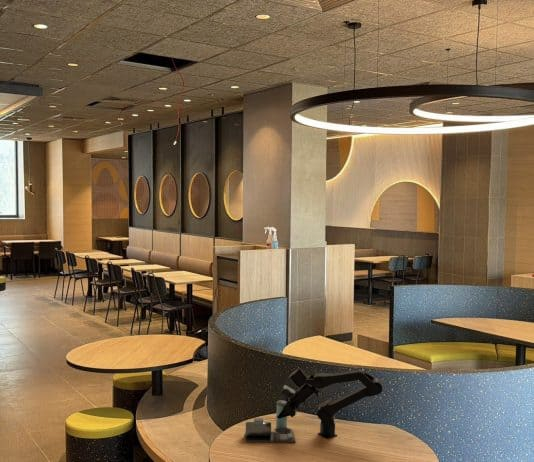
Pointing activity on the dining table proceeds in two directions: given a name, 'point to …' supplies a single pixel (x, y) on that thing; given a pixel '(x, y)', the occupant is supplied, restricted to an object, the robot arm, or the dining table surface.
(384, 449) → the dining table surface
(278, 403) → the green capped cylinder
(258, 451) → the dining table surface
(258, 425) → the grey socket base
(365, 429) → the dining table surface
